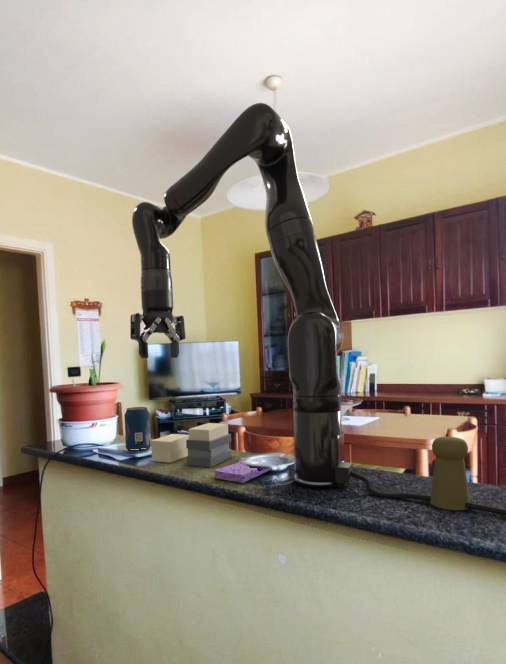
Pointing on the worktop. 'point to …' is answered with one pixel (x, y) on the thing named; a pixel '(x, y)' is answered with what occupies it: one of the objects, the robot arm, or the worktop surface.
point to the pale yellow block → (208, 431)
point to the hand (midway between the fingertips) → (159, 357)
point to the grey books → (208, 451)
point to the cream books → (169, 448)
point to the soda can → (137, 429)
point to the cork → (449, 474)
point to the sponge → (238, 472)
